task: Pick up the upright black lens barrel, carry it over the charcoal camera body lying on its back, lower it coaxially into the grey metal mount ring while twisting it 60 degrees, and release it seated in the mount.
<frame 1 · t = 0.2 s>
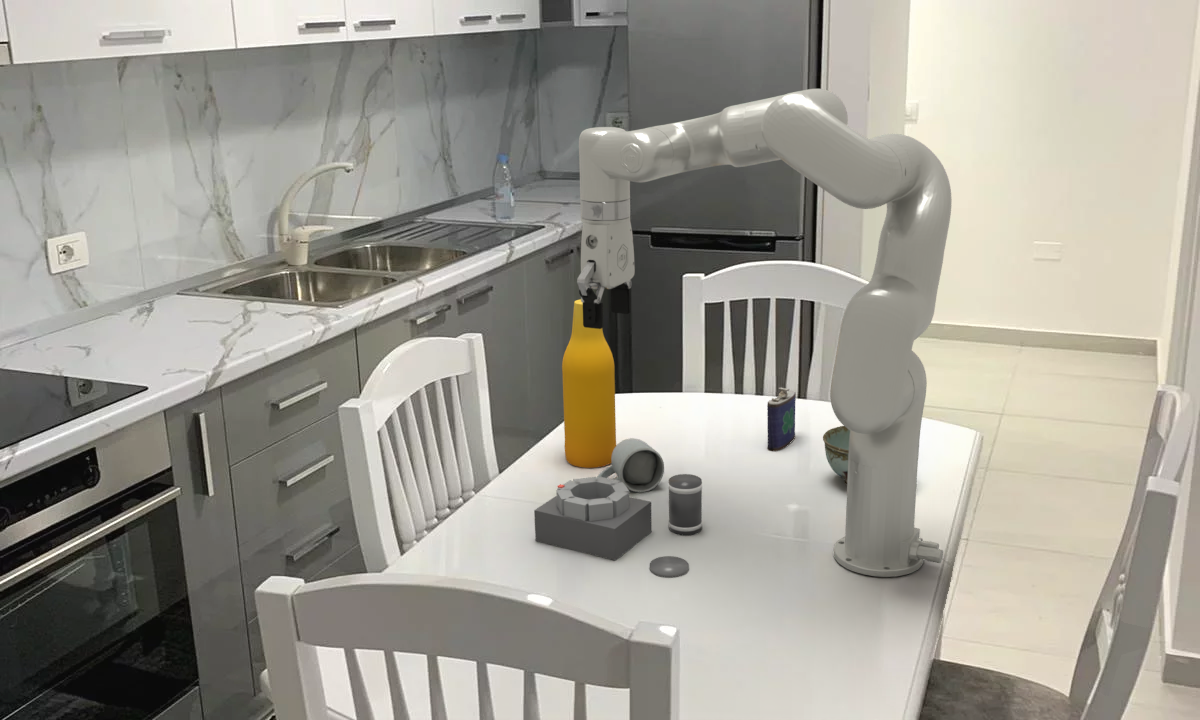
hand: (607, 320, 179), 30 cm above the table, tool pointing down, fingers open, 9 cm apart
lens cap: (669, 570, 164), on the table
ceramic mug: (629, 486, 194), on the table
lens: (685, 528, 177), on the table
flask: (781, 444, 211), on the table
bowl: (862, 483, 193), on the table
camera body: (593, 536, 175), on the table
beer bottle: (590, 460, 206), on the table
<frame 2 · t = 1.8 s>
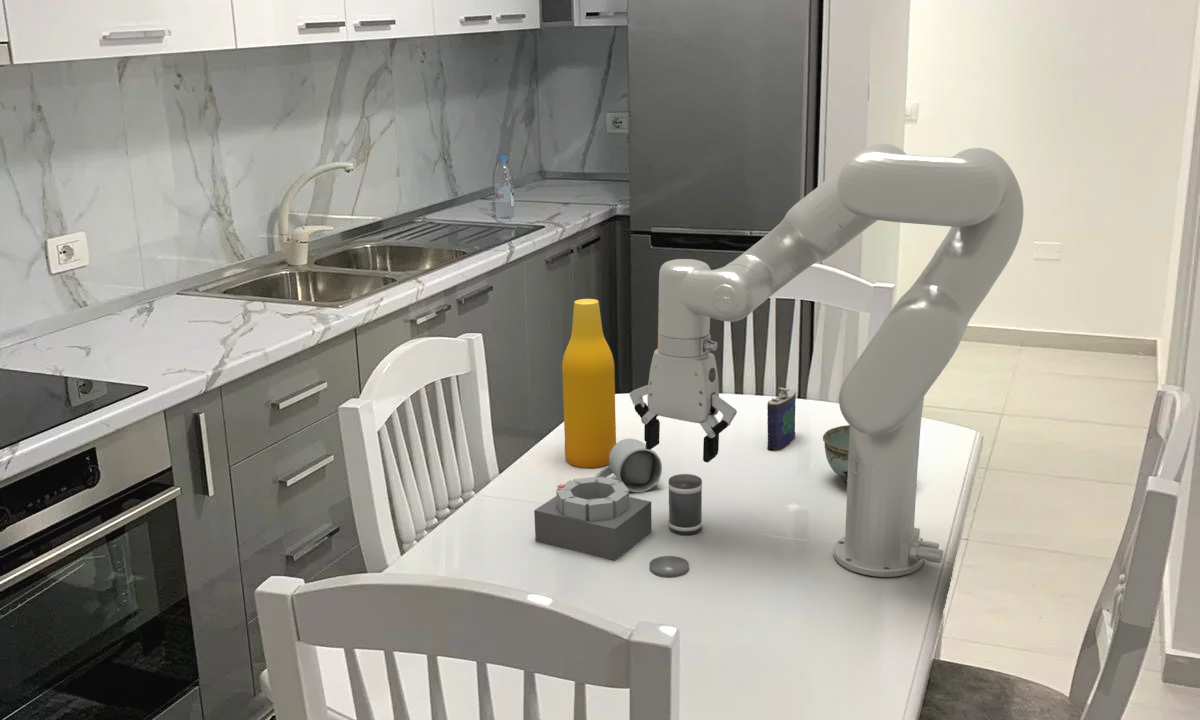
hand: (680, 453, 174), 12 cm above the table, tool pointing down, fingers open, 9 cm apart
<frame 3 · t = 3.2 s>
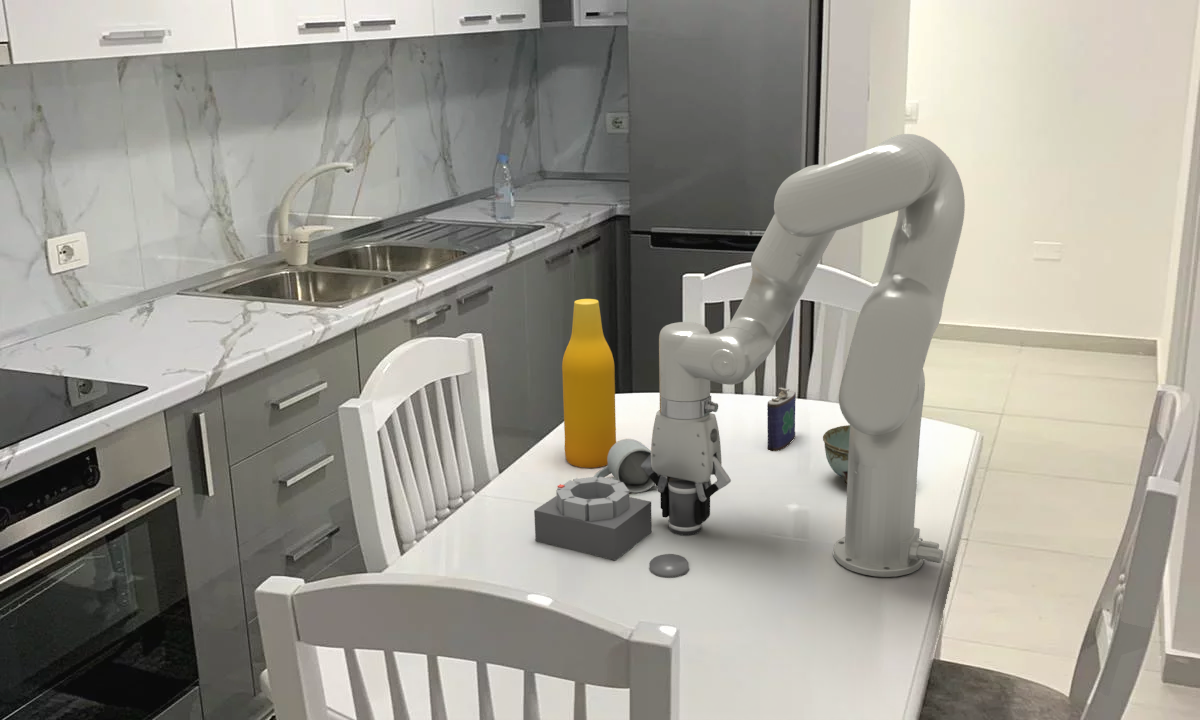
hand: (685, 516, 176), 2 cm above the table, tool pointing down, fingers closed on lens, 5 cm apart
lens: (685, 528, 177), on the table, touching gripper
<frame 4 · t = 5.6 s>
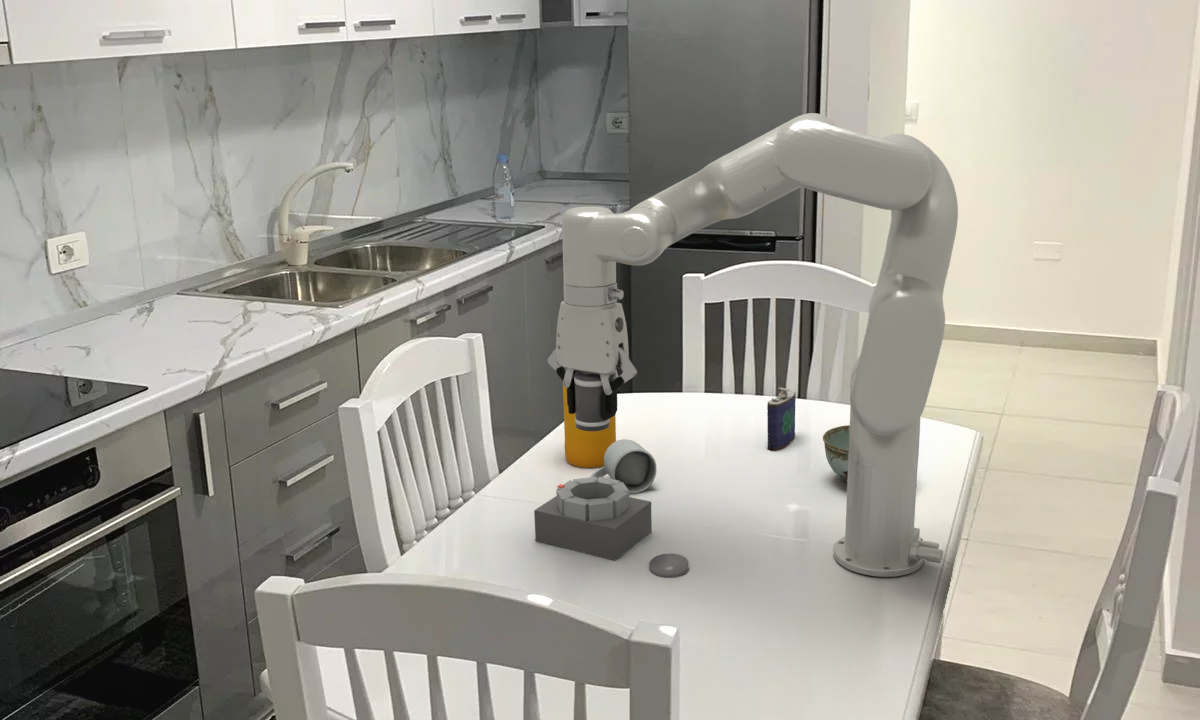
hand: (592, 413, 170), 20 cm above the table, tool pointing down, fingers closed on lens, 5 cm apart
lens: (592, 425, 170), point 18 cm above the table, touching gripper
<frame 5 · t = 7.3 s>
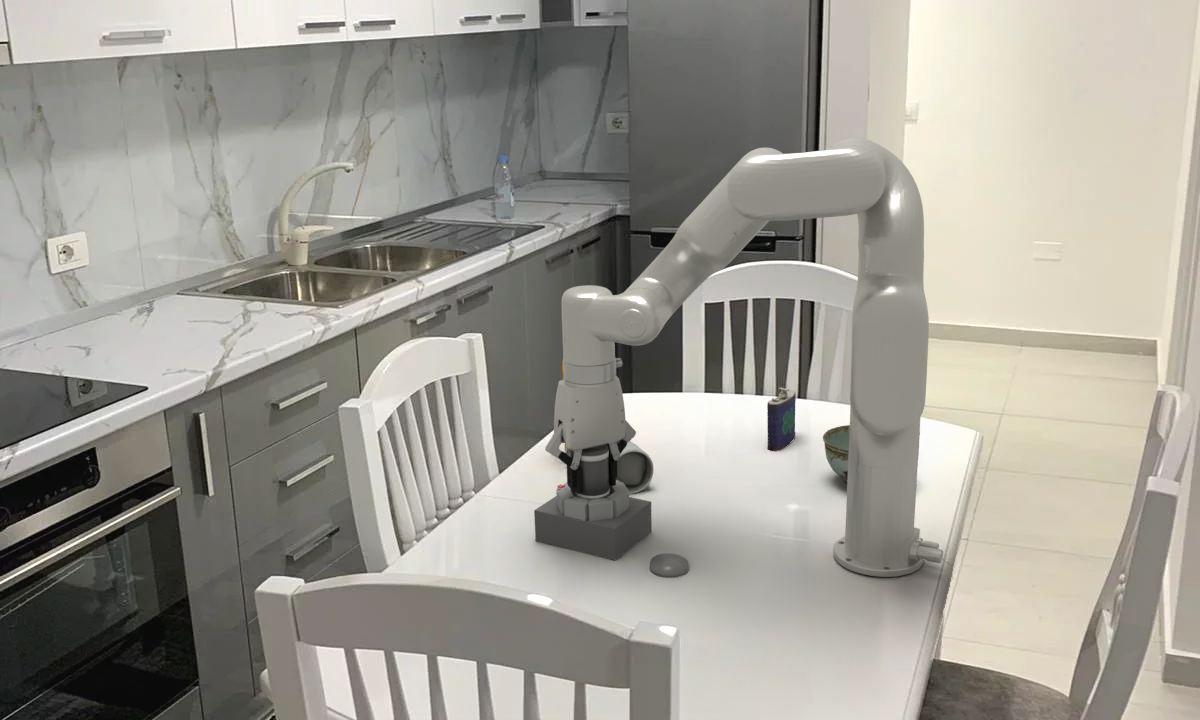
hand: (592, 485, 173), 8 cm above the table, tool pointing down, fingers closed on lens, 5 cm apart
lens: (592, 497, 173), point 6 cm above the table, touching gripper
when the fingers open (8 cm above the table, at t = 8.3 s): lens drops 1 cm, resting on camera body.
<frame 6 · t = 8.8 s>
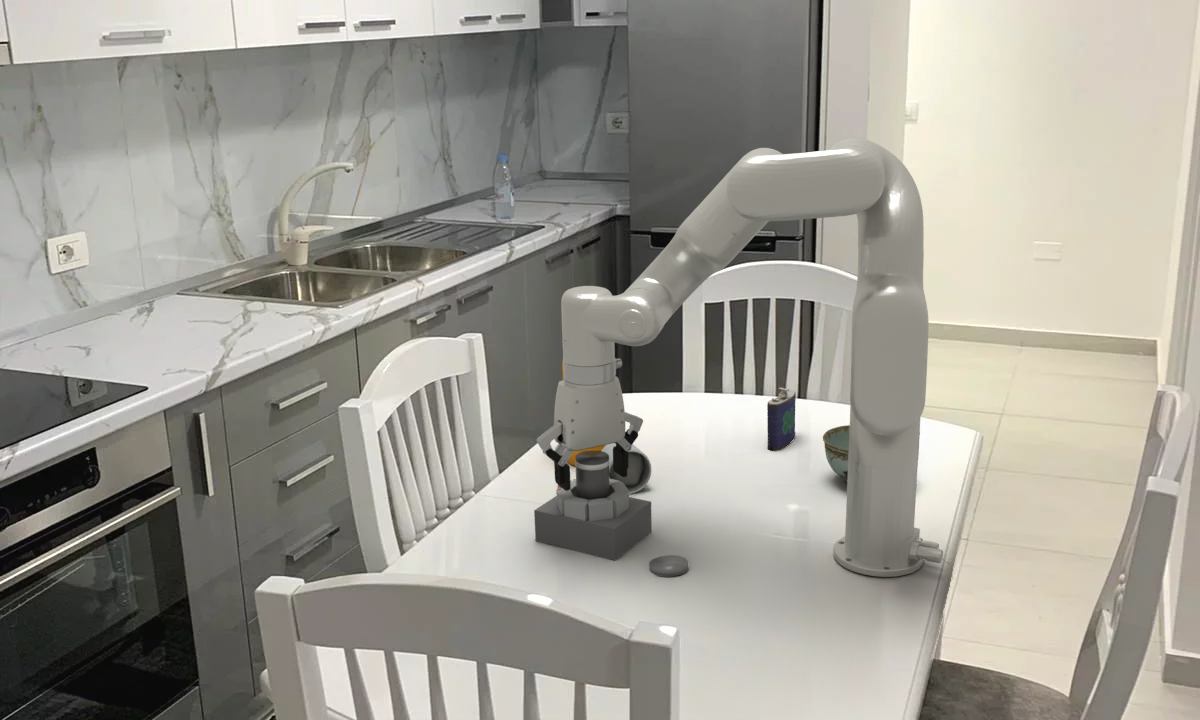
hand: (592, 480, 172), 9 cm above the table, tool pointing down, fingers open, 9 cm apart
lens: (593, 505, 174), point 5 cm above the table, touching camera body
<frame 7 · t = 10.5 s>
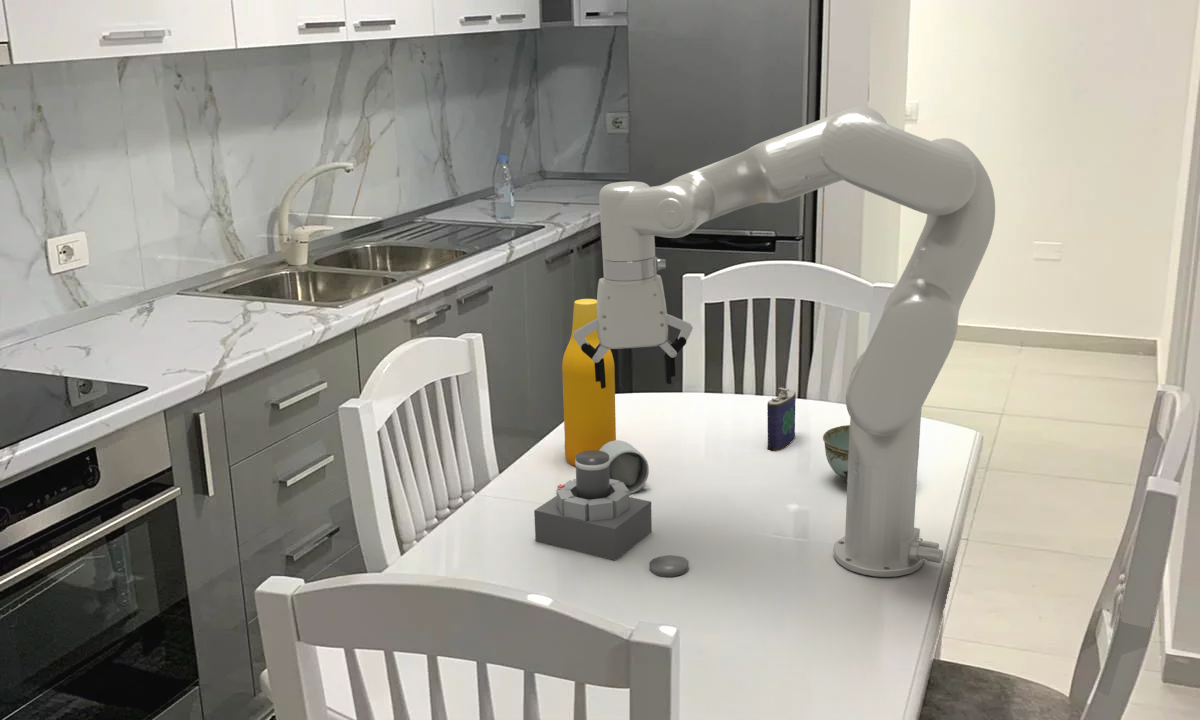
hand: (635, 383, 169), 24 cm above the table, tool pointing down, fingers open, 9 cm apart
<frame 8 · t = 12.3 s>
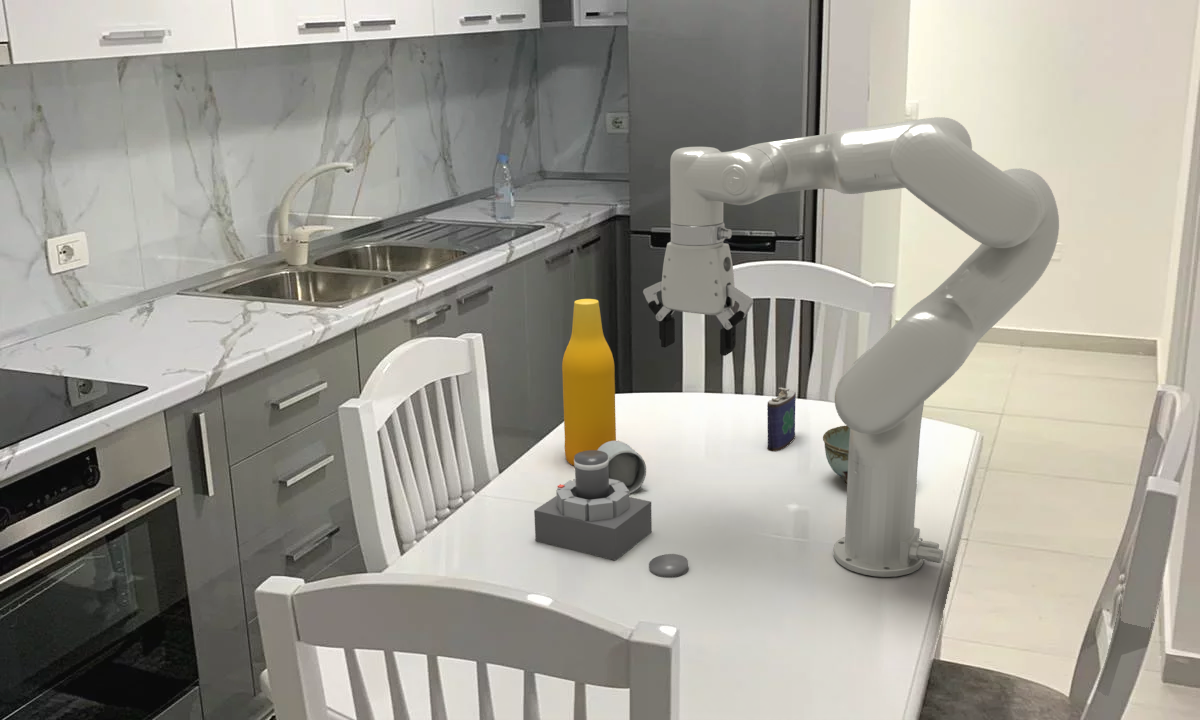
hand: (696, 349, 170), 28 cm above the table, tool pointing down, fingers open, 9 cm apart
at the end: lens 0.0 cm off-centre on the camera body, point 5.0 cm above the camera body's base; lens tilted 1°; the gripper is holding nothing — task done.
